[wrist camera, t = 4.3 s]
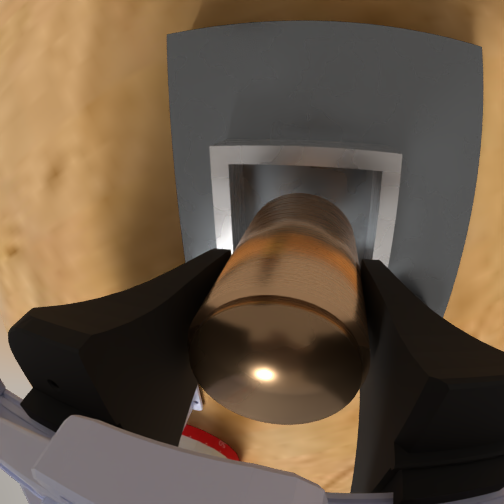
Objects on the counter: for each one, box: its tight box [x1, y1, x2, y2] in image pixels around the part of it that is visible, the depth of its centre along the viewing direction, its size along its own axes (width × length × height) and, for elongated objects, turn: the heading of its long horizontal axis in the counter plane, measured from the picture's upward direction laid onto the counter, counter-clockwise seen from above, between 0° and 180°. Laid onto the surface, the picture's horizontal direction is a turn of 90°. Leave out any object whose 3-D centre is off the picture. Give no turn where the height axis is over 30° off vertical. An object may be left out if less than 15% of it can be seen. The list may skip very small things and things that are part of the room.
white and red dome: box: [178, 424, 239, 461], centre depth 29 cm, size 14×14×15 cm
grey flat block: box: [167, 21, 483, 318], centre depth 16 cm, size 20×16×5 cm
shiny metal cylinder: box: [187, 193, 370, 425], centre depth 10 cm, size 4×4×7 cm
